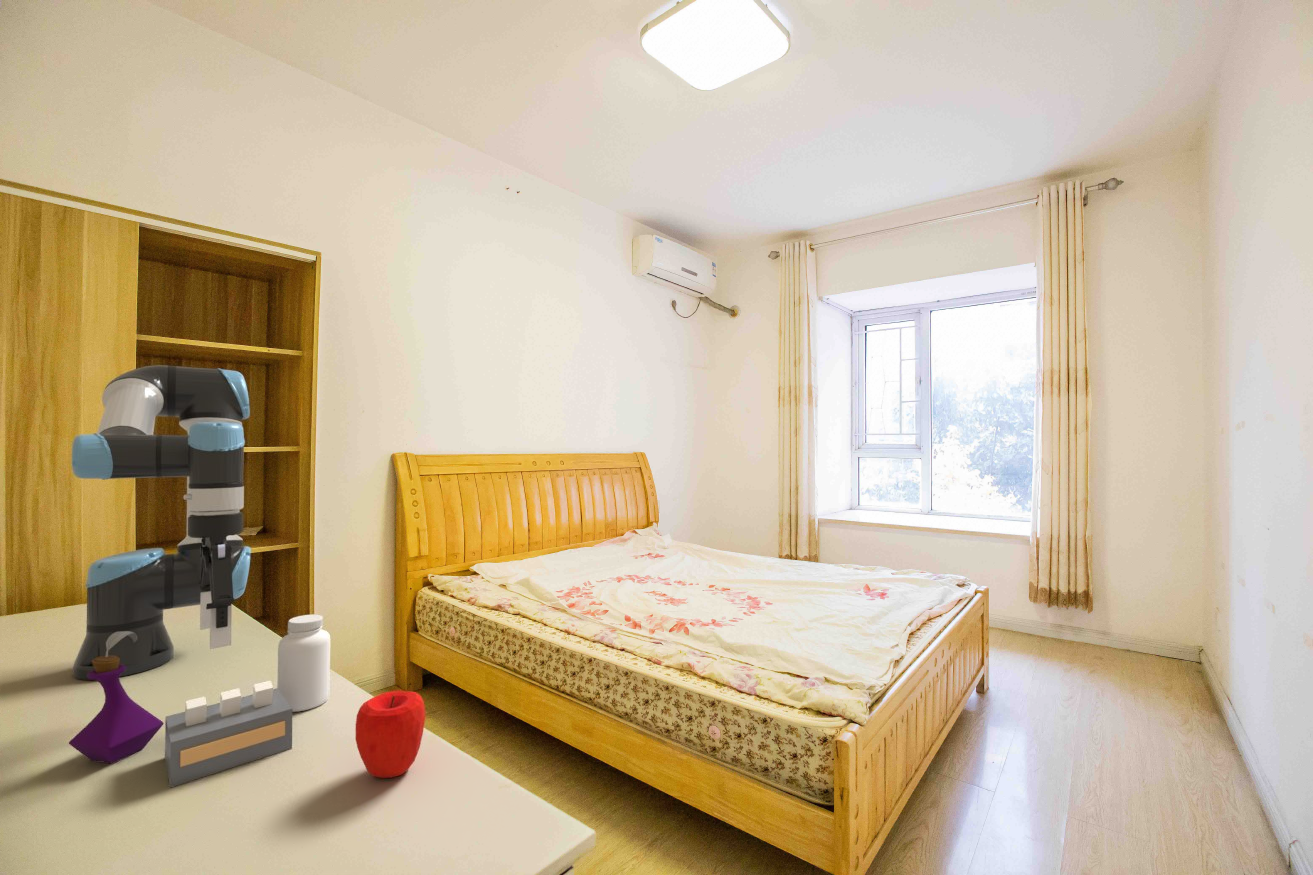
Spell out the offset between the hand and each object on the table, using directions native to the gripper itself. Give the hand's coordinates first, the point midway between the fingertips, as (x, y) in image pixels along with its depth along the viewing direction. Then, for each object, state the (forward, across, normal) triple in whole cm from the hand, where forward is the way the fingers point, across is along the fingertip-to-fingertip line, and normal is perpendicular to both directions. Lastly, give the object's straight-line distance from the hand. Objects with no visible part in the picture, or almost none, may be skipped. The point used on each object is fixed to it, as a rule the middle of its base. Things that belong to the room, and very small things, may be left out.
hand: (215, 636), depth 96 cm
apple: (+14, +39, +16) cm, 44 cm away
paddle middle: (+7, +17, 0) cm, 18 cm away
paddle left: (+7, +17, -4) cm, 19 cm away
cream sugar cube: (+7, +17, +4) cm, 19 cm away
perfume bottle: (+13, +6, -12) cm, 19 cm away
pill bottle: (+13, +6, +12) cm, 19 cm away
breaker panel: (+13, +17, 0) cm, 21 cm away
